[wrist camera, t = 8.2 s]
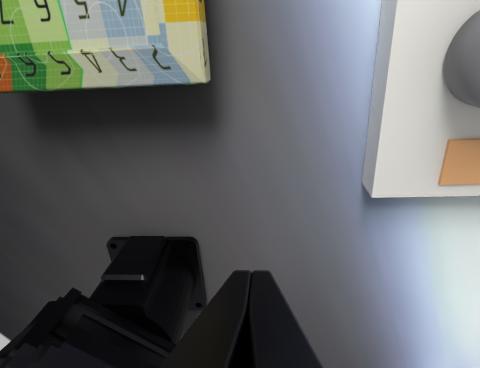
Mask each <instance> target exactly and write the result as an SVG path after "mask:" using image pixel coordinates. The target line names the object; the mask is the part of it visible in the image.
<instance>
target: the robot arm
mask: <svg viewBox="0 0 480 368" xmlns="http://www.w3.org/2000/svg"><path fill="white" fill-rule="evenodd" d="M113 243H114V244H116V245H117V246H116V245H114V244H113ZM187 243H191V244H192V246H191V245H188V244H187ZM107 248H108V252H109V255H110V258H111V263H110V265H109V266H108V268H107V269H106V270H105V272H104V273H103V275H102V276H101V280H102V281H101V282H100V284H99V285H98V286H97V288H96V289H95V291H94V292H93V294H92V295H91V296H90V298H88V297H86V296H84V295H82V294H81V292H80V291H78V290H77V289H75V288H72V289H71V290H70V291H69V292H68V293H67V295H66V296H65V297H64V298H62V297H59V299H58V300H57V301H50V302H48V303H47V304H46V305H45V307H44V308H43V309H42V310H41V311H40V312H39V314H38V315H37V316H36V317H35V318H34V319H33V321H32V322H31V323H30V324H29V325H28V326H27V327H26V328H25V329H24V330H23V331H22V332H21V333H20V334H19V335H17V336H16V337H15V338H14V339H13V340H12V341H11V342H10V343H9V344H8V345H6V346H5V347H4V348H3V349H2V350H1V351H0V368H324V367H323V365H322V364H321V362H320V360H319V358H318V356H317V355H316V353H315V351H314V349H313V347H312V346H311V344H310V342H309V340H308V338H307V337H306V335H305V333H304V331H303V329H302V328H301V326H300V324H299V322H298V320H297V319H296V317H295V315H294V313H293V311H292V310H291V308H290V306H289V304H288V302H287V301H286V299H285V297H284V295H283V293H282V292H281V290H280V288H279V286H278V284H277V283H276V281H275V279H274V277H273V275H272V274H271V272H270V271H267V270H255V271H253V272H251V271H249V270H236V271H234V272H233V273H232V274H231V275H230V277H229V278H228V279H227V280H226V282H225V283H224V284H223V286H222V287H221V288H220V289H219V291H218V292H217V293H216V295H215V296H214V297H213V298H212V300H211V301H210V302H209V304H208V305H207V306H206V308H205V305H206V296H205V289H204V283H203V276H202V269H201V262H200V256H199V249H198V242H197V240H196V239H195V238H193V237H164V236H131V237H112V238H111V239H110V240H109V241H108V242H107ZM204 308H205V309H204ZM202 309H204V310H203V311H202V313H201V314H200V315H199V317H198V318H197V319H196V320H195V322H194V323H193V324H192V326H191V327H190V328H189V329H188V331H187V332H186V333H185V335H184V336H183V337H182V339H181V340H180V341H179V339H180V336H181V332H182V329H183V326H184V322H185V319H186V316H187V312H188V310H202Z"/></svg>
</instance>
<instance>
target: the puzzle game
mask: <svg viewBox="0 0 480 368" xmlns="http://www.w3.org/2000/svg"><path fill="white" fill-rule="evenodd" d="M209 82H210V63H209V52H208V40H207V29H206V17H205V6H204V0H0V93H20V92H42V91H64V90H87V89H109V88H131V87H153V86H176V85H198V84H207V83H209Z"/></svg>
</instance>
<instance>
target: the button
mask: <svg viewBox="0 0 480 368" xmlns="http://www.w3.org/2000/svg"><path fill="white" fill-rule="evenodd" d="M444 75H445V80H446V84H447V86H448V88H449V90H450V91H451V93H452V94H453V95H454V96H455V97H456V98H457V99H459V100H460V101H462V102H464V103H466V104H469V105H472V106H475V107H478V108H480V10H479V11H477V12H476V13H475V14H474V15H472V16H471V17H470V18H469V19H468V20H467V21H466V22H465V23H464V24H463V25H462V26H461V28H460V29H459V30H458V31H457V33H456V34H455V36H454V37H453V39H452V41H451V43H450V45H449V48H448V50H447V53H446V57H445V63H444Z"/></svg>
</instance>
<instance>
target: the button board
mask: <svg viewBox="0 0 480 368" xmlns="http://www.w3.org/2000/svg"><path fill="white" fill-rule="evenodd" d="M479 10H480V0H382V7H381V15H380V24H379V33H378V42H377V51H376V60H375V69H374V78H373V87H372V96H371V105H370V114H369V123H368V132H367V140H366V149H365V158H364V167H363V176H362V184H363V185H364V187H365V188H366V190H367V191H368V193H369V194H370V196H371V197H372V198H386V197H443V196H480V108H478V107H475V106H472V105H469V104H466V103H464V102H462V101H460V100H459V99H457V98H456V97H455V96H454V95H453V94H452V93H451V91H450V90H449V88H448V86H447V84H446V80H445V75H444V63H445V57H446V53H447V50H448V48H449V45H450V43H451V41H452V39H453V37H454V36H455V34H456V33H457V31H458V30H459V29H460V28H461V26H462V25H463V24H464V23H465V22H466V21H467V20H468V19H469V18H470V17H471V16H472V15H474V14H475V13H476V12H477V11H479Z"/></svg>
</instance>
